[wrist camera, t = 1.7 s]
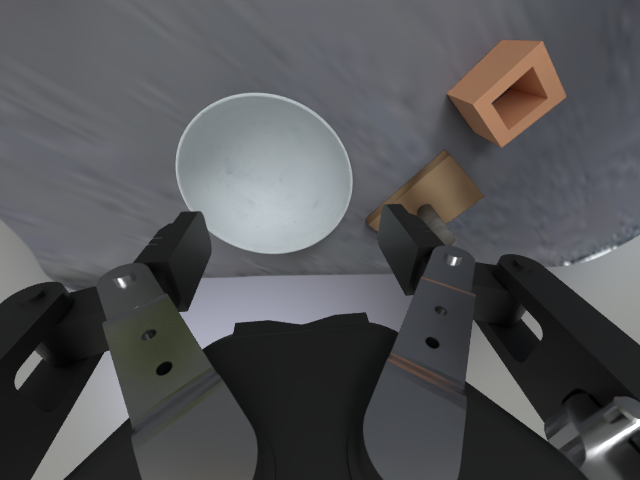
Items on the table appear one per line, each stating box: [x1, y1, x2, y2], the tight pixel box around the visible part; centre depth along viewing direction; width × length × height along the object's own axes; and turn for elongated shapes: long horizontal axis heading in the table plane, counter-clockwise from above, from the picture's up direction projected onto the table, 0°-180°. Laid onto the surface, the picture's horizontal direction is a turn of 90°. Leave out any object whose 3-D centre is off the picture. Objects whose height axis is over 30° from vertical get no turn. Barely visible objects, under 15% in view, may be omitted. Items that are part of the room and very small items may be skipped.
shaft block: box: [366, 150, 484, 246], centre depth 30 cm, size 12×8×8 cm, turn 139°
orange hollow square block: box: [447, 40, 567, 148], centre depth 23 cm, size 6×6×5 cm
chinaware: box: [176, 93, 352, 254], centre depth 25 cm, size 15×15×8 cm
